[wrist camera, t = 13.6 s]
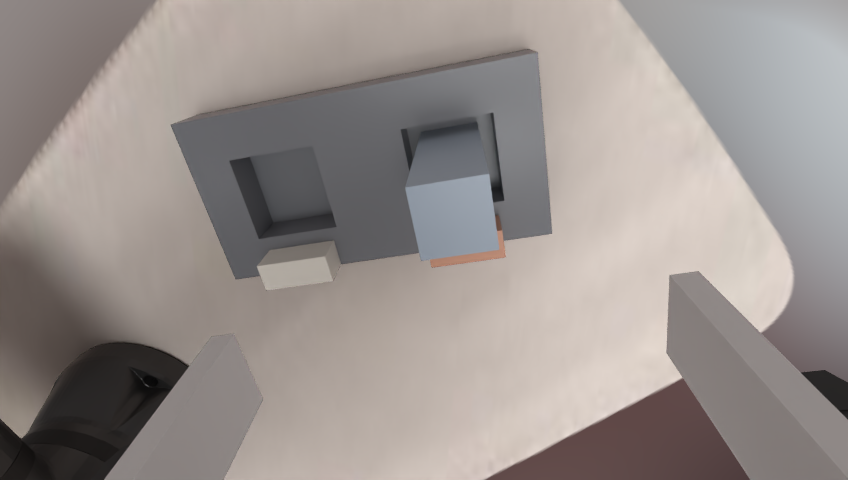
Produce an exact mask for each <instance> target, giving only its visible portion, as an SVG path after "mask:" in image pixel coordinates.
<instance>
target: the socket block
mask: <svg viewBox="0 0 848 480" xmlns="http://www.w3.org/2000/svg"><path fill="white" fill-rule="evenodd" d="M474 122H477V124H478V128H479V132H480V137H481V141H482V145H483V150H484V154H485V158H486V162H487V167H488V171H489V176H490V184H491V191H492V198H493V206H494V213H495V221H496V228H497V235H498V243H499V250H494V251H487V252H480V253H473V254H466V255H459V256H452V257H445V258H438V259H431V260H430V262H431V267H432V268H433V267H440V266H447V265H454V264H461V263H469V262H476V261H483V260H490V259H497V258H504V257H506V255H505V248H504V241H505V240H512V239H519V238H526V237H533V236H540V235H546V234H552V226H551V213H550V201H549V188H548V176H547V163H546V151H545V138H544V126H543V113H542V101H541V88H540V75H539V63H538V52H535V51H533V50H530V49H527V50H522V51H517V52H512V53H507V54H502V55H497V56H492V57H487V58H481V59H476V60H471V61H466V62H461V63H456V64H451V65H446V66H441V67H436V68H431V69H426V70H421V71H416V72H411V73H406V74H401V75H396V76H391V77H386V78H381V79H376V80H371V81H366V82H361V83H356V84H351V85H346V86H341V87H335V88H330V89H325V90H320V91H315V92H310V93H305V94H300V95H295V96H290V97H285V98H280V99H275V100H270V101H265V102H260V103H255V104H250V105H245V106H240V107H235V108H230V109H225V110H220V111H215V112H210V113H205V114H200V115H196V116H193V117H190V118H188V119H185V120H182V121H180V122H177V123H174V124H171V127H172V129H173V132H174V134H175V136H176V139H177V141H178V144H179V146H180V148H181V151H182V153H183V155H184V158H185V160H186V163H187V165H188V167H189V170H190V172H191V174H192V177H193V179H194V182H195V184H196V186H197V189H198V191H199V193H200V196H201V198H202V201H203V203H204V205H205V208H206V210H207V212H208V215H209V217H210V219H211V222H212V224H213V227H214V229H215V231H216V234H217V236H218V238H219V241H220V243H221V246H222V248H223V250H224V253H225V255H226V257H227V260H228V262H229V265H230V267H231V269H232V272H233V274H234V276H235V279H242V278H249V277H256V276H261V279H262V281H263V284H264V286H265V289H266V291H268V290H275V289H282V288H290V287H297V286H304V285H311V284H318V283H325V282H332V281H334V278H335V276H336V274H337V272H338V270H339V268H340V265H341V264H346V263H353V262H360V261H367V260H374V259H380V258H387V257H394V256H401V255H408V254H415V253H419V249H418V244H417V240H416V235H415V231H414V226H413V221H412V217H411V212H410V208H409V203H408V199H407V194H406V190H405V186H406V183H407V179H408V176H409V172H410V169H411V165H412V162H413V158H414V155H415V151H416V148H417V144H418V141H419V138H420V134H421V132H424V131H429V130H435V129H441V128H446V127H452V126H457V125H463V124H468V123H474Z"/></svg>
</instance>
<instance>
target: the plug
mask: <svg viewBox="0 0 848 480" xmlns="http://www.w3.org/2000/svg"><path fill="white" fill-rule="evenodd" d="M405 190H406V194H407V199H408V203H409V208H410V212H411V217H412V221H413V226H414V231H415V235H416V240H417V244H418V249H419V253H420V258H421V261H424V260H431V259H438V258H445V257H452V256H459V255H466V254H473V253H480V252H487V251H494V250H499V243H498V235H497V228H496V221H495V213H494V206H493V198H492V191H491V184H490V176H489V171H488V167H487V162H486V158H485V154H484V150H483V145H482V141H481V137H480V132H479V128H478V124H477V122H474V123H468V124H463V125H457V126H452V127H446V128H441V129H435V130H429V131H424V132H421V134H420V138H419V141H418V144H417V148H416V151H415V155H414V158H413V162H412V165H411V169H410V172H409V176H408V179H407V183H406V186H405Z"/></svg>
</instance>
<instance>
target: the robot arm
mask: <svg viewBox="0 0 848 480" xmlns="http://www.w3.org/2000/svg"><path fill="white" fill-rule="evenodd" d="M666 353H667V354H668V356H669V357H670V359H671V360H672V362H673V363H674V365H675V366H676V368H677V369H678V371H679V372H680V374H681V375H682V377H683V378H684V380H685V381H686V383H687V384H688V386H689V387H690V389H691V391H692V392H693V394H694V395H695V397H696V398H697V400H698V401H699V403H700V404H701V406H702V407H703V409H704V410H705V412H706V413H707V415H708V416H709V418H710V419H711V421H712V422H713V424H714V425H715V427H716V428H717V430H718V431H719V433H720V434H721V436H722V437H723V439H724V440H725V442H726V443H727V445H728V446H729V448H730V449H731V451H732V452H733V454H734V456H735V457H736V459H737V460H738V461H739V463H740V465H741V466H742V468H743V469H744V470H745V472H746V474H747V475H748V477H749V478H750V480H848V382H846V381H844V380H842V379H840V378H838V377H836V376H835V375H833V374H831V373H829V372H827V371H825V370H821V371H812V372H803V373H800V372H799V371H798V370H797V369H796V368H795V367H794V366H793V365H792V364H791V363H790V362H789V361H788V360H787V359H786V358H785V357H784V356H783V355H782V354H781V353H780V352H779V351H778V350H777V349H776V348H775V347H774V346H773V345H772V344H771V343H770V342H769V341H768V340H767V339H766V338H765V337H764V336H763V335H762V334H761V333H760V332H759V331H758V330H757V329H756V328H755V327H754V326H753V325H752V324H751V323H750V322H749V321H748V320H747V319H746V318H745V317H744V316H743V315H742V314H741V313H740V312H739V311H738V310H737V309H736V308H735V307H734V306H733V305H732V304H731V303H730V302H729V301H728V300H727V299H726V298H725V297H724V296H723V295H722V294H721V293H720V292H719V291H718V290H717V289H716V288H715V287H714V286H713V285H712V284H711V283H710V282H709V281H708V280H707V279H706V278H705V277H704V276H703V275H702V274H701V273H700V272H699V271H697V272H689V273H682V274H674V275H670V277H669V302H668V327H667V352H666ZM262 400H263V397H262V395H261V393H260V391H259V388H258V386H257V384H256V382H255V379H254V377H253V375H252V373H251V371H250V368H249V366H248V364H247V362H246V359H245V357H244V355H243V353H242V350H241V348H240V346H239V344H238V342H237V339H236V337H235V335H234V334H228V335H220V336H213V337H211V338H210V339H209V341H208V342H207V343H206V345H205V346H204V347H203V349H202V350H201V351H200V353H199V354H198V355H197V357H196V358H195V359H194V361H193V362H192V363H191V365H190V366H189V367H187V366H185V365H184V364H183V363H181V362H180V361H178V360H176V359H174V358H173V357H171V356H169V355H167V354H165V353H162V352H160V351H157V350H155V349H151V348H148V347H144V346H140V345H135V344H126V343H113V344H105V345H101V346H97V347H94V348H92V349H90V350H88V351H86V352H84V353H83V354H82V355H80V356H79V357H78V358H77V359H76V360H75V361H74V362H73V363H72V364H70V365H69V366H68V367H67V368H66V369H65V370H64V371H63V372H62V373H61V374H60V376H59V377H58V378H57V380H56V382H55V384H54V387H53V389H52V391H51V393H50V395H49V396H48V398H47V399H46V401H45V403H44V405H43V406H42V408H41V410H40V411H39V413H38V415H37V417H36V419H35V420H34V422H33V424H32V426H31V428H30V429H29V431H28V433H27V434H26V435H25V436H24V437H23V438H22V439H21V438H20V437H18V436H17V435H16V434H15V433H14V432H13V431H12V430H11V429H10V428H9V427H8V426H7V425H6V424H5V423H4V422H3V421H2V420H1V419H0V480H224V478H225V476H226V474H227V472H228V470H229V468H230V466H231V463H232V461H233V459H234V457H235V455H236V453H237V451H238V449H239V447H240V445H241V443H242V441H243V439H244V437H245V435H246V433H247V431H248V429H249V427H250V425H251V423H252V421H253V419H254V417H255V415H256V413H257V410H258V408H259V406H260V404H261V402H262Z"/></svg>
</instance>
